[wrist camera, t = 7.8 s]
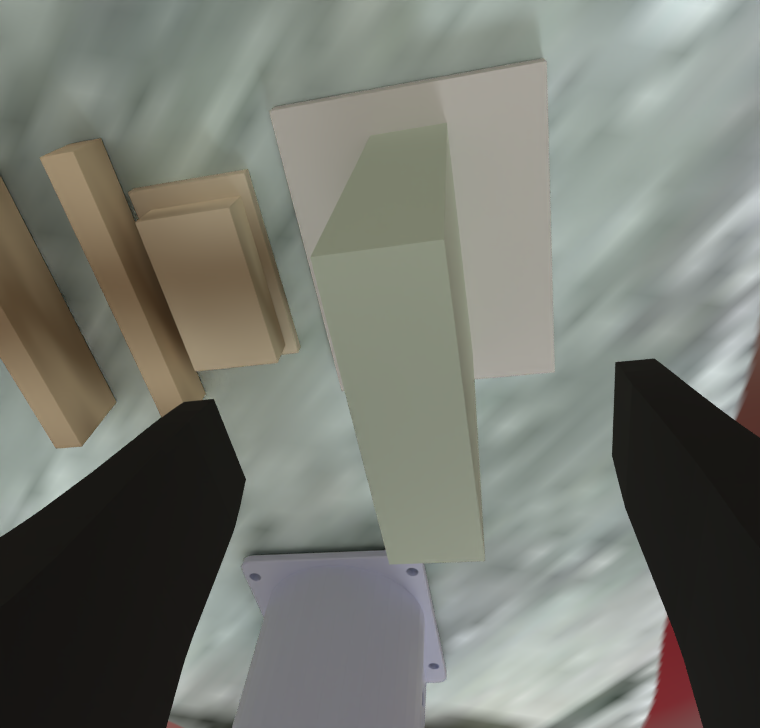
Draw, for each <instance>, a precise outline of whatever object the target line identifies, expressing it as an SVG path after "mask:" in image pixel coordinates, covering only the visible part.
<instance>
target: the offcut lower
mask: <svg viewBox="0 0 760 728" xmlns="http://www.w3.org/2000/svg"><path fill="white" fill-rule="evenodd" d="M128 194H129V196H130V199H131V201H132V204H133V206H134V208H135V211H136V213H137V216H138V218H139V219H140V218H141V217H142V216H144V215H145V214H146V213H148V212H149V211H150V210H153V209H159V208H166V207H172V206H178V205H185V204H191V203H198V202H204V201H210V200H217V199H223V198H229V197H236V196H241V198H242V202H243V205H244V208H245V212H246V215H247V218H248V222H249V225H250V228H251V232H252V235H253V238H254V242H255V245H256V248H257V252H258V255H259V258H260V262H261V265H262V268H263V272H264V275H265V278H266V282H267V285H268V288H269V292H270V295H271V298H272V302H273V305H274V308H275V312H276V315H277V318H278V322H279V325H280V328H281V332H282V335H283V338H284V342H285V347H284V350H283V352H282V354H281V355H284V354H293V353H299V350H300V348H301V346H300V343H299V340H298V336H297V333H296V329H295V326H294V323H293V319H292V316H291V313H290V309H289V306H288V302H287V299H286V296H285V292H284V289H283V286H282V282H281V279H280V275H279V272H278V269H277V265H276V262H275V259H274V255H273V252H272V248H271V245H270V242H269V238H268V235H267V232H266V228H265V225H264V221H263V218H262V215H261V211H260V208H259V205H258V201H257V198H256V194H255V191H254V188H253V184H252V181H251V178H250V174H249V171H248V169H245V170H239V171H234V172H228V173H222V174H216V175H210V176H204V177H198V178H192V179H186V180H180V181H174V182H168V183H162V184H156V185H150V186H145V187H139V188H134V189H132V190H131V191H129V192H128Z"/></svg>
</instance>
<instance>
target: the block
mask: <svg viewBox="0 0 760 728" xmlns="http://www.w3.org/2000/svg"><path fill="white" fill-rule="evenodd" d="M310 258H311V262H312V266H313V270H314V274H315V278H316V281H317V285H318V289H319V293H320V297H321V301H322V305H323V309H324V313H325V316H326V320H327V324H328V328H329V332H330V336H331V340H332V344H333V348H334V351H335V355H336V359H337V363H338V367H339V371H340V375H341V379H342V382H343V386H344V390H345V394H346V398H347V402H348V406H349V410H350V414H351V417H352V421H353V425H354V429H355V433H356V437H357V441H358V445H359V449H360V452H361V456H362V460H363V464H364V468H365V472H366V476H367V480H368V483H369V487H370V491H371V495H372V499H373V503H374V507H375V511H376V515H377V518H378V522H379V526H380V530H381V534H382V538H383V542H384V546H385V550H386V553H387V557H388V561H389V565H390V564H418V563H446V562H474V561H485V550H484V533H483V516H482V499H481V482H480V465H479V448H478V432H477V415H476V398H475V381H474V364H473V350H472V341H471V332H470V324H469V315H468V306H467V297H466V288H465V279H464V270H463V261H462V253H461V244H460V235H459V226H458V217H457V208H456V199H455V190H454V182H453V173H452V164H451V155H450V146H449V137H448V128H447V123H442V124H436V125H431V126H425V127H419V128H413V129H407V130H401V131H395V132H389V133H383V134H377V135H371V136H370V137H369V139H368V141H367V143H366V145H365V147H364V149H363V151H362V153H361V155H360V157H359V160H358V162H357V164H356V166H355V168H354V170H353V172H352V174H351V176H350V178H349V180H348V182H347V184H346V186H345V188H344V190H343V192H342V194H341V196H340V198H339V200H338V202H337V204H336V206H335V208H334V210H333V212H332V214H331V216H330V218H329V220H328V222H327V224H326V226H325V228H324V230H323V232H322V234H321V236H320V238H319V240H318V242H317V245H316V247H315V249H314V251H313V253H312V255H311V257H310Z"/></svg>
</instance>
